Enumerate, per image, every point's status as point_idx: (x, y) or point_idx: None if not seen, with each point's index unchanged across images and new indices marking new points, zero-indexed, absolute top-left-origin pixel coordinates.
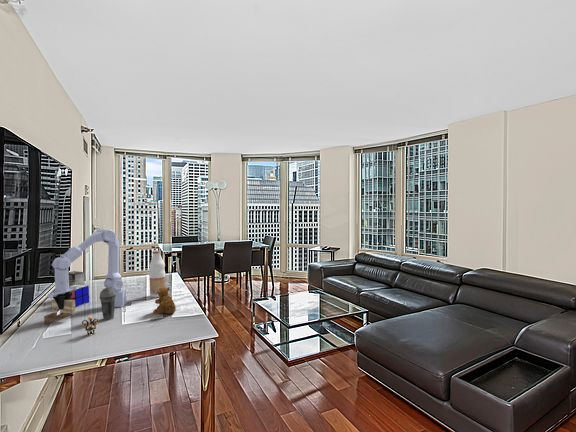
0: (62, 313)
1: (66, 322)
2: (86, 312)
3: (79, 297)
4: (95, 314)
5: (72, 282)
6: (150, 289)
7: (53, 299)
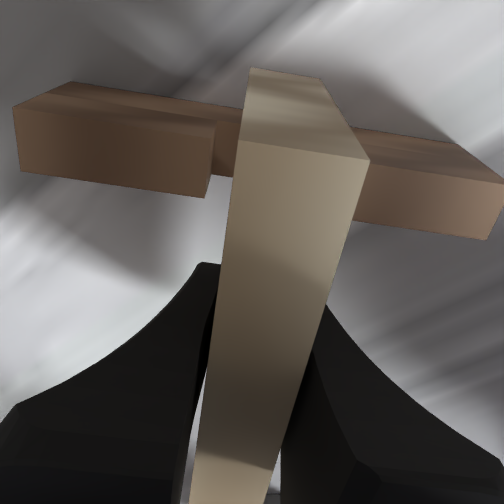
0: None
1: (168, 295)
2: (487, 302)
3: None
4: None
5: None
6: None
7: (310, 148)
